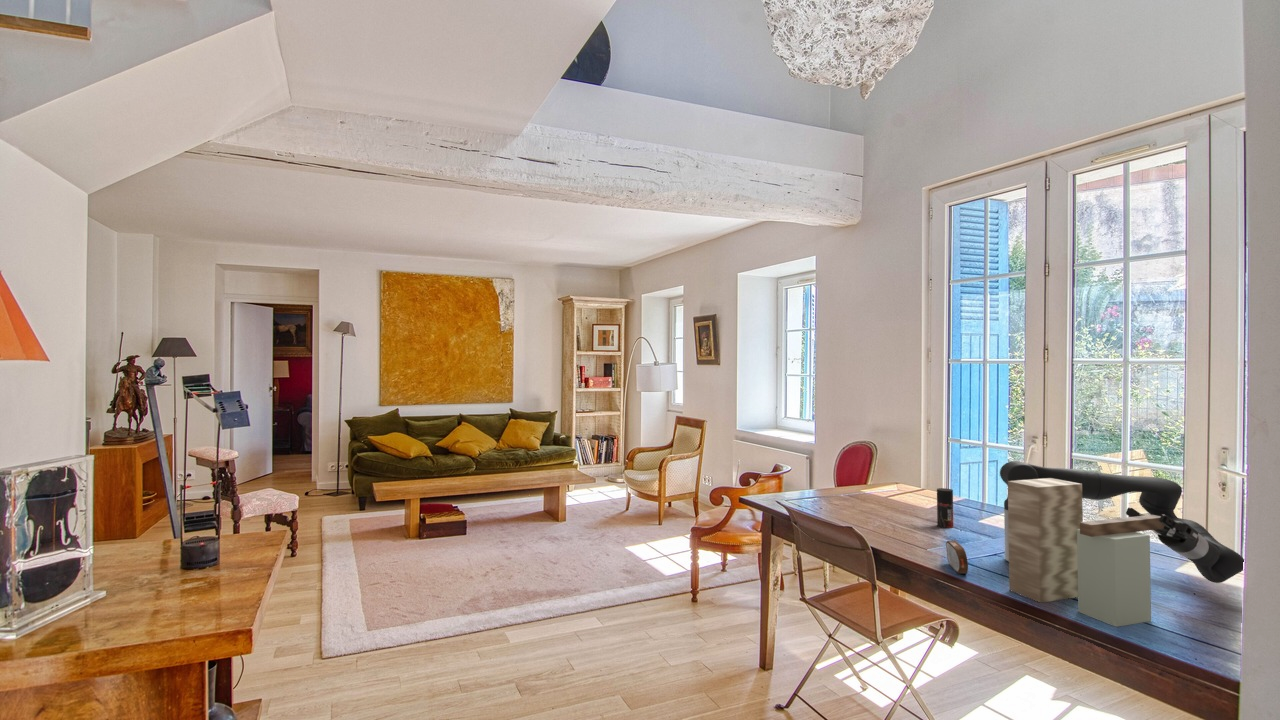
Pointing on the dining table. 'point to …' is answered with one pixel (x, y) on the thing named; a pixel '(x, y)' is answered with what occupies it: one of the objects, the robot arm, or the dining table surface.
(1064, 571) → the stand
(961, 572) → the tin
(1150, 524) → the walnut bar
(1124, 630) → the dining table surface
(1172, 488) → the robot arm
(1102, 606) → the green plinth
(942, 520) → the deodorant
